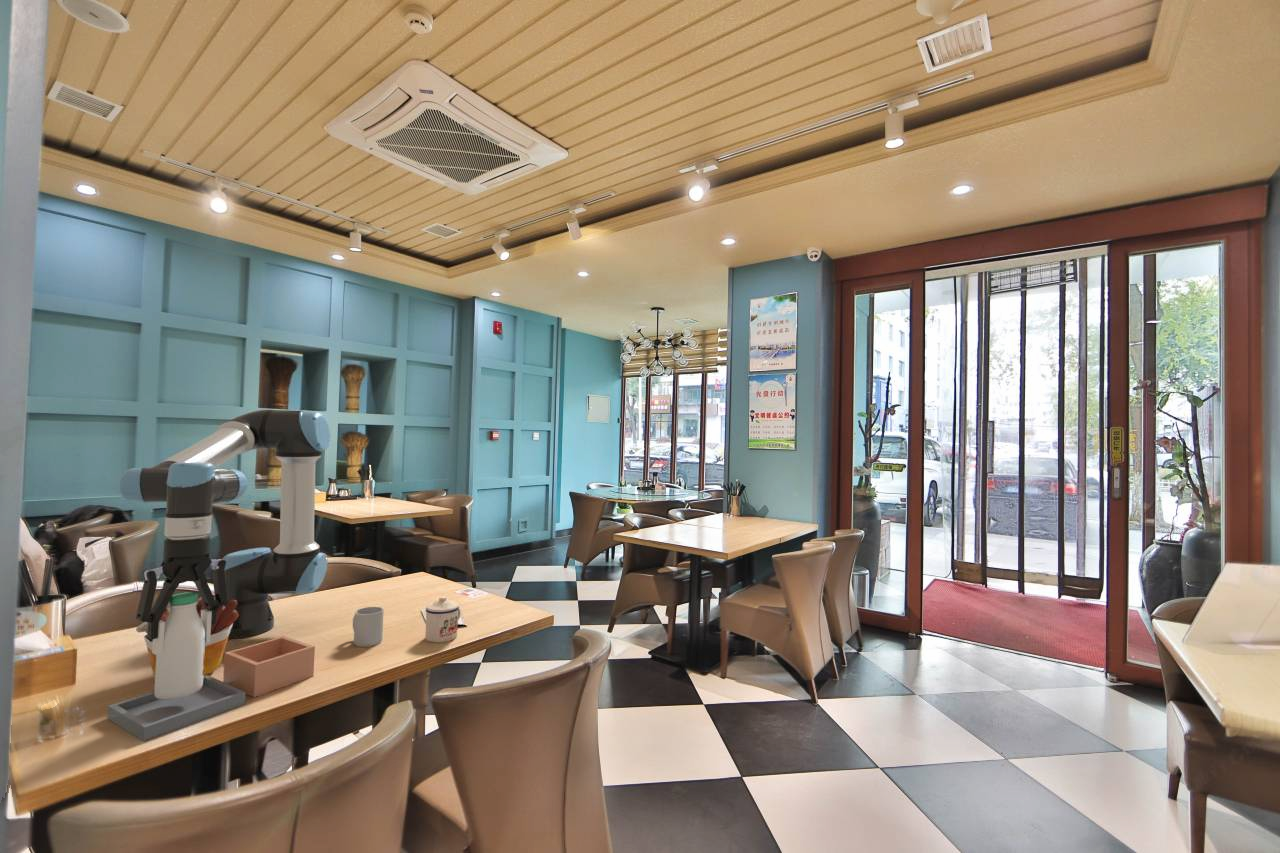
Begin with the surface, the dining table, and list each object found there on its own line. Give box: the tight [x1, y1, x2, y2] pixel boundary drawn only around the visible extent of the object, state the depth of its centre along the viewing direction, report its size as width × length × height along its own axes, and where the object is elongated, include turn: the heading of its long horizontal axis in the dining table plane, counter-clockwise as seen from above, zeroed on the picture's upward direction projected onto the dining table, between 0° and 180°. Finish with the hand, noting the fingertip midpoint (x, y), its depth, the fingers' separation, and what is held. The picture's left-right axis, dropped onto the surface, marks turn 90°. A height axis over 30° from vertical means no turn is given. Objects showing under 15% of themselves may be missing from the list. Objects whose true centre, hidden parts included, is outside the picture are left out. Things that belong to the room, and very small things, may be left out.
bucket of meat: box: [135, 596, 239, 677], centre depth 130 cm, size 20×16×20 cm
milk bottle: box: [153, 591, 205, 700], centre depth 113 cm, size 8×8×20 cm
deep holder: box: [222, 635, 316, 698], centre depth 128 cm, size 13×13×7 cm
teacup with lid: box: [424, 595, 462, 644], centre depth 160 cm, size 12×9×12 cm
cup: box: [352, 606, 384, 648], centre depth 154 cm, size 7×10×9 cm
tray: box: [107, 674, 247, 742], centre depth 113 cm, size 16×17×2 cm
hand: (181, 647), depth 113 cm, fingers closed on milk bottle, 7 cm apart
